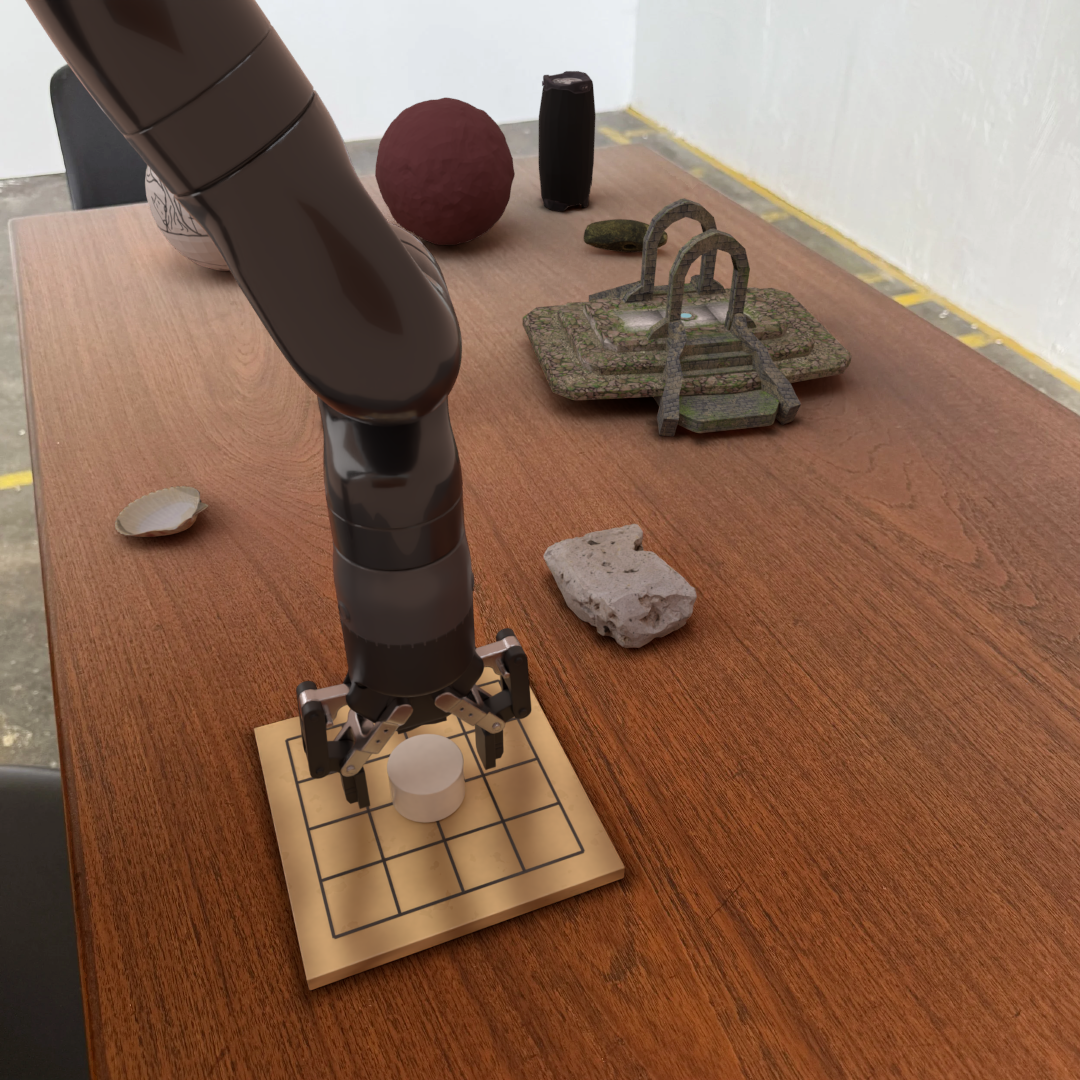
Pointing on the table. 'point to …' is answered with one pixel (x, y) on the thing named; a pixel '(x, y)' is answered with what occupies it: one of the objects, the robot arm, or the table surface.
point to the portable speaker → (566, 139)
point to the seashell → (161, 512)
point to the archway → (688, 339)
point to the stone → (620, 585)
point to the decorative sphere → (445, 171)
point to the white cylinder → (426, 778)
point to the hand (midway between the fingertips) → (424, 778)
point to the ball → (180, 226)
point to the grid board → (428, 844)
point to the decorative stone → (619, 235)
